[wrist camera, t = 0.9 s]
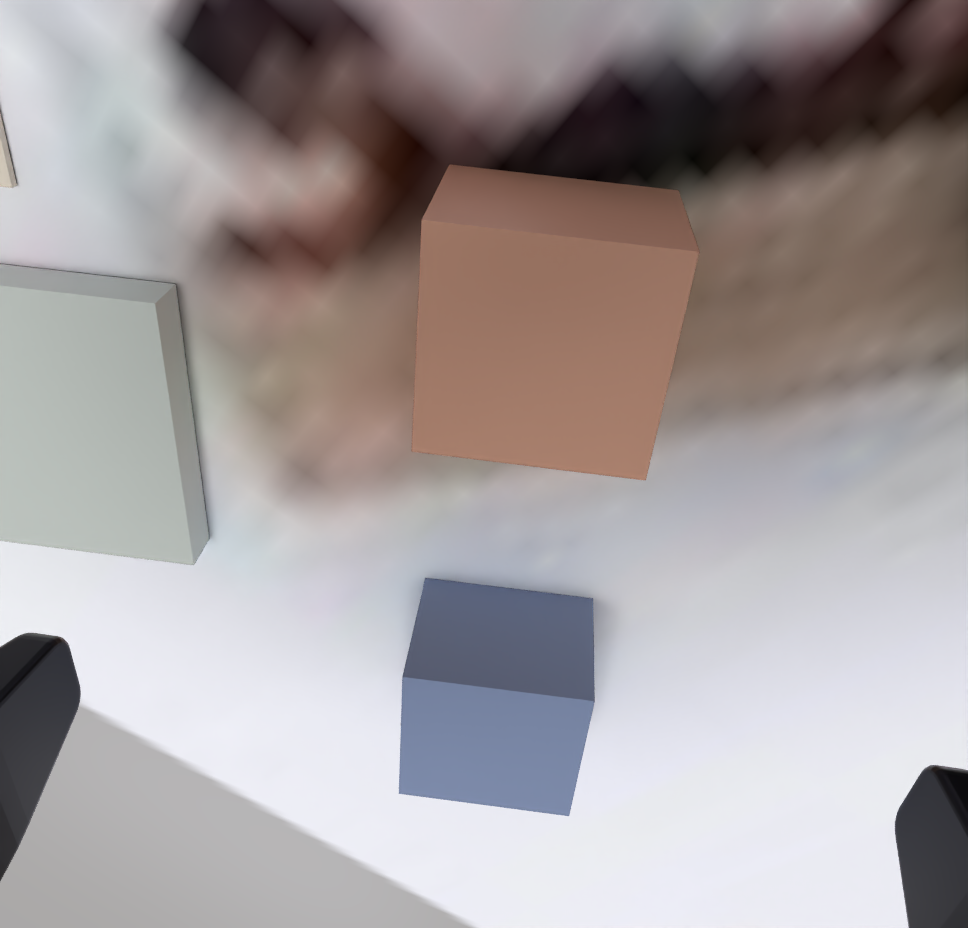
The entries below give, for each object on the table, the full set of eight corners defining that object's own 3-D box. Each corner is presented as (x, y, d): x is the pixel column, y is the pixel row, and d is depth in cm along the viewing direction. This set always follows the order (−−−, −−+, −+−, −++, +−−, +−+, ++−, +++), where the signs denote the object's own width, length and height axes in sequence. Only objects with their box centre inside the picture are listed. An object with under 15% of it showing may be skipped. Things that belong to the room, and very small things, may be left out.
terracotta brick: (678, 188, 18) (699, 252, 15) (635, 389, 21) (645, 480, 18) (449, 162, 18) (421, 219, 15) (437, 366, 21) (411, 451, 18)
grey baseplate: (175, 284, 20) (154, 303, 19) (209, 538, 25) (193, 565, 24) (-143, 247, 21) (-179, 265, 20) (-53, 506, 25) (-79, 531, 24)
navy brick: (593, 595, 25) (594, 701, 22) (570, 707, 28) (568, 816, 24) (426, 575, 25) (402, 676, 22) (420, 688, 28) (399, 793, 25)
